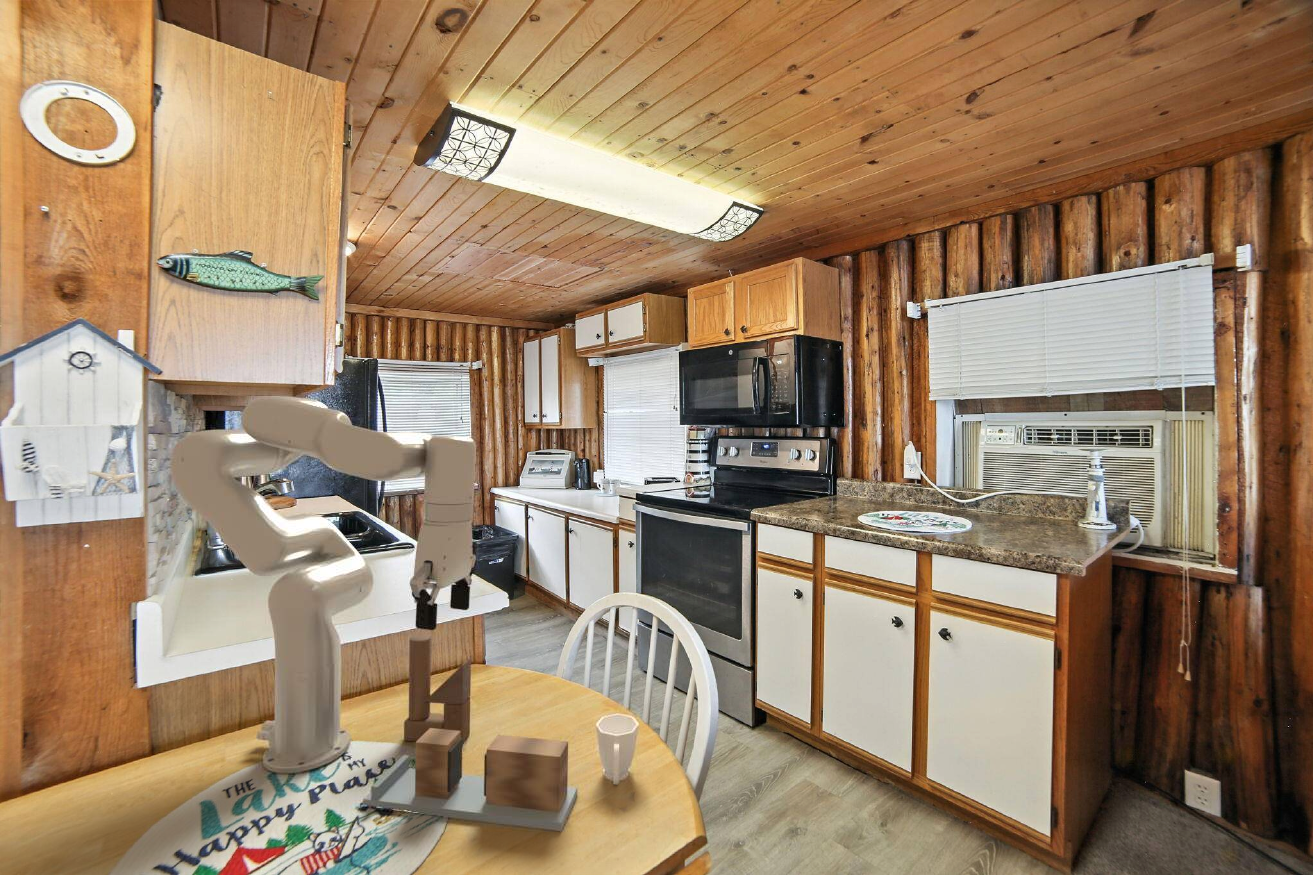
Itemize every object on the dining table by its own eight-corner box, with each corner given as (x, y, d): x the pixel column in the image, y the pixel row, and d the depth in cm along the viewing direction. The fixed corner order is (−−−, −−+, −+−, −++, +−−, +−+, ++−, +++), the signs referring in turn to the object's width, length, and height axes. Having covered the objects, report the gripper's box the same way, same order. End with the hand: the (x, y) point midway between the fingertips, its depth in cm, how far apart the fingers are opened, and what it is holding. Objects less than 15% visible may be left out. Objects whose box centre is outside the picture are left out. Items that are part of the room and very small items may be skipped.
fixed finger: (483, 803, 82) (484, 748, 82) (494, 786, 86) (495, 734, 86) (558, 812, 81) (559, 756, 81) (567, 794, 85) (568, 741, 85)
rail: (363, 806, 83) (363, 785, 83) (395, 774, 91) (395, 754, 91) (561, 831, 79) (561, 808, 79) (577, 794, 87) (577, 773, 87)
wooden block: (462, 745, 99) (463, 643, 99) (403, 741, 100) (404, 640, 100) (470, 734, 103) (472, 635, 103) (413, 730, 104) (414, 633, 104)
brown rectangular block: (415, 795, 84) (415, 742, 84) (429, 779, 88) (430, 727, 88) (449, 799, 83) (450, 745, 83) (462, 782, 87) (463, 731, 87)
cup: (637, 759, 96) (638, 712, 96) (638, 798, 86) (639, 745, 86) (596, 760, 96) (597, 712, 96) (592, 799, 86) (593, 746, 86)
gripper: (455, 504, 100) (451, 599, 101) (393, 519, 83) (387, 634, 84) (495, 507, 99) (490, 604, 99) (439, 523, 82) (434, 640, 82)
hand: (443, 618), depth 92 cm, fingers open, 9 cm apart
